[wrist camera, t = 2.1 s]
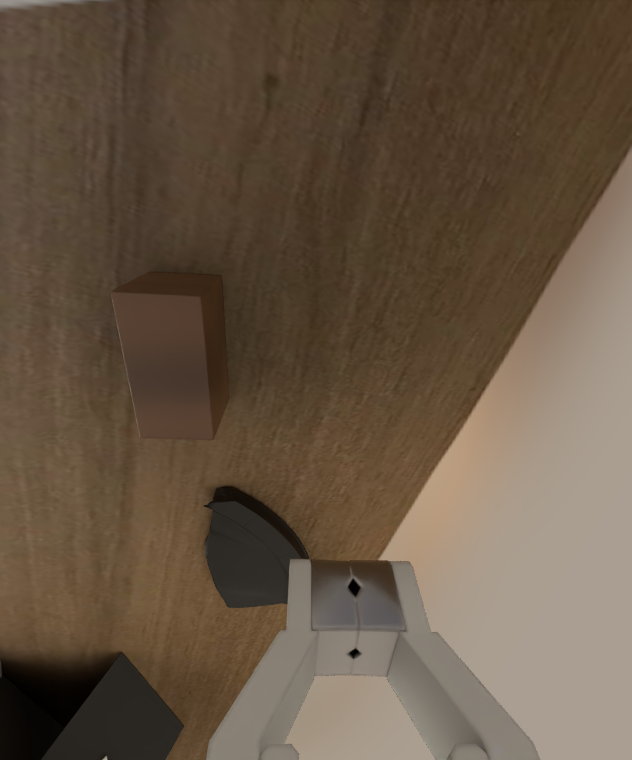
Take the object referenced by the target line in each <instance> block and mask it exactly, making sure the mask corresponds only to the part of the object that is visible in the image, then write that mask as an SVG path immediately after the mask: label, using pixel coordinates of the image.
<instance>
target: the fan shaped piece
mask: <svg viewBox="0 0 632 760" xmlns="http://www.w3.org/2000/svg"><path fill="white" fill-rule="evenodd" d="M204 507H207V508H210V509H212V510H213V516H212V522H211V526H210V534H209V536H208V537H207V538H206V541H205V555H206V558H207V563H208V566H209V569H210V572H211V575H212V578H213V581H214V584H215V586H216V588H217V590H218V592H219V593H220V595H221V597H222V598H223V600H224V601H225V603H226V605H227V607H229V608H244V607H257V606H265V605H274V604H280V603H284V604H288V586H289V566H290V560H291V559H309V557H308V554H307V553H306V551H305V548H304V546H303V545H302V543H301V541H300V540H299V538H298V537H297V536H296V535H295V533H294V532H293V531H292V530H291V529H290V528H289V527H288V526H287V524H286V523H285V522H284V521H283V520H282V519H280V518H279V517H278V516H277V515H276V514H274V513H273V512H272V511H270V510H269V509H268V508H267V507H265V506H264V505H262V504H261V503H259V502H257V501H256V500H254V499H252V498H250V497H248V496H246V495H245V494H243V493H241V492H239V491H237V490H236V489H234V488H227V487H222V488H218V489H216V493H215V495H214V497H213V501H211V502H209V503H208V505H204Z"/></svg>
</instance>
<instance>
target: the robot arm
mask: <svg viewBox="0 0 632 760" xmlns="http://www.w3.org/2000/svg"><path fill="white" fill-rule="evenodd" d="M335 675H360V676H385V677H387V680H388V682H389V683H390V685H391V687H392V688H393V690H394V692H395V693H396V695H397V697H398V698H399V700H400V701H401V703H402V705H403V706H404V708H405V710H406V711H407V713H408V715H409V716H410V718H411V720H412V721H413V723H414V724H415V726H416V728H417V730H418V731H419V733H420V735H421V736H422V738H423V740H424V741H425V743H426V745H427V746H428V748H429V749H430V751H431V753H432V754H433V756H434V758H435V759H436V760H540V758H539V756H538V753H537V751H536V748H535V746H534V744H533V742H532V740H531V739H530V738H529V737H528V736H527V735H526V734H525V732H524V731H523V730H522V729H521V728H520V727H519V725H518V724H517V723H516V722H515V721H514V720H513V719H512V717H511V716H510V715H509V714H508V713H507V712H506V711H505V709H504V708H503V707H502V706H501V705H500V704H499V703H498V701H497V700H496V699H495V698H494V697H493V696H492V694H491V693H490V692H489V691H488V690H487V689H486V688H485V687H484V685H483V684H482V683H481V682H480V681H479V680H478V678H477V677H476V676H475V675H474V674H473V673H472V671H471V670H470V669H469V668H468V667H467V666H466V665H465V663H464V662H463V661H462V660H461V659H460V658H459V657H458V655H457V654H456V653H455V652H454V651H453V650H452V648H451V647H450V646H449V645H448V644H447V643H446V642H445V640H444V639H443V638H442V637H441V636H440V635H439V633H437V632H431V630H430V626H429V623H428V619H427V616H426V612H425V609H424V605H423V601H422V598H421V594H420V591H419V588H418V584H417V580H416V577H415V573H414V570H413V567H412V565H411V563H410V562H408V561H373V560H350V561H334V560H310V559H291V560H290V566H289V586H288V606H287V626H286V630H280V631H279V633H278V634H277V636H276V637H275V639H274V640H273V642H272V643H271V645H270V647H269V648H268V650H267V651H266V653H265V654H264V656H263V658H262V659H261V661H260V662H259V664H258V665H257V667H256V669H255V670H254V672H253V673H252V675H251V676H250V678H249V680H248V681H247V683H246V684H245V686H244V687H243V689H242V691H241V692H240V694H239V695H238V697H237V698H236V700H235V702H234V703H233V705H232V706H231V708H230V709H229V711H228V713H227V714H226V716H225V717H224V719H223V720H222V722H221V724H220V725H219V727H218V728H217V730H216V731H215V733H214V734H213V736H212V738H211V739H210V741H209V746H208V751H207V757H206V760H299V753H298V752H297V751H296V749H295V748H294V747H293V746H292V744H284V743H285V741H286V739H287V736H288V734H289V732H290V730H291V728H292V726H293V723H294V721H295V719H296V717H297V714H298V712H299V710H300V708H301V706H302V703H303V702H304V700H305V697H306V695H307V693H308V691H309V689H310V686H311V684H312V682H313V680H314V676H335Z"/></svg>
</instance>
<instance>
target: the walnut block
mask: <svg viewBox="0 0 632 760" xmlns="http://www.w3.org/2000/svg"><path fill="white" fill-rule="evenodd" d="M111 298H112V303H113V308H114V312H115V317H116V322H117V327H118V332H119V337H120V342H121V347H122V352H123V357H124V362H125V367H126V372H127V377H128V381H129V386H130V391H131V396H132V401H133V406H134V411H135V416H136V421H137V426H138V431H139V436H140V438H163V439H192V440H214V437H215V435H216V432H217V429H218V427H219V424H220V422H221V419H222V416H223V414H224V411H225V408H226V406H227V403H228V400H229V388H228V372H227V356H226V339H225V323H224V306H223V290H222V276H220V275H201V274H182V273H164V272H148V273H146V274H144V275H142V276H140V277H138V278H136V279H134V280H133V281H131V282H129V283H127V284H125V285H123V286H121V287H119V288H117V289H115V290H113V291H111Z"/></svg>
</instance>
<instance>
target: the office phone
mask: <svg viewBox="0 0 632 760" xmlns="http://www.w3.org/2000/svg"><path fill="white" fill-rule="evenodd" d="M183 727H184V726H183V725H182V724H181V722H180V721H179V720H178V719H177V718H176V716H175V715H174V714H173V713H172V712H171V710H170V709H169V708H168V707H167V706H166V704H165V703H164V702H163V701H162V700H161V698H160V697H159V696H158V695H157V694H156V692H155V691H154V690H153V689H152V688H151V686H150V685H149V684H148V683H147V682H146V680H145V679H144V678H143V677H142V676H141V674H140V673H139V672H138V671H137V670H136V669H135V667H134V666H133V665H132V664H131V663H130V661H129V660H128V659H127V658H126V657H125V655H124V654H123V653H121V654H120V656H119V657H118V658H117V660H116V661H115V662H114V664H113V665H112V666H111V668H110V669H109V670H108V671H107V673H106V674H105V675H104V677H103V678H102V679H101V681H100V682H99V683H98V685H97V686H96V687H95V689H94V690H93V691H92V693H91V694H90V695H89V697H88V698H87V699H86V701H85V702H84V703H83V705H82V706H81V707H80V709H79V710H78V711H77V713H76V714H75V715H74V717H73V718H72V719H71V721H70V722H69V723H68V725H67V726H66V727H65V728H64V727H63V726H62V725H60V724H59V723H58V722H57V721H56V720H54V719H53V718H52V717H51V716H50V715H49V714H47V713H46V712H45V711H44V710H43V709H41V708H40V707H39V706H38V705H37V704H35V703H34V702H33V701H32V700H31V699H29V698H28V697H27V696H26V695H25V694H24V693H23V692H22V691H20V690H19V689H18V688H17V687H16V686H15V685H14V684H12V683H11V682H10V681H9V680H8V679H7V678H6V677H4V676H3V675H2V670H1V661H0V760H165V759H166V758H167V756H168V754H169V752H170V750H171V749H172V747H173V745H174V743H175V741H176V739H177V738H178V736H179V734H180V732H181V730H182V729H183Z"/></svg>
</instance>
